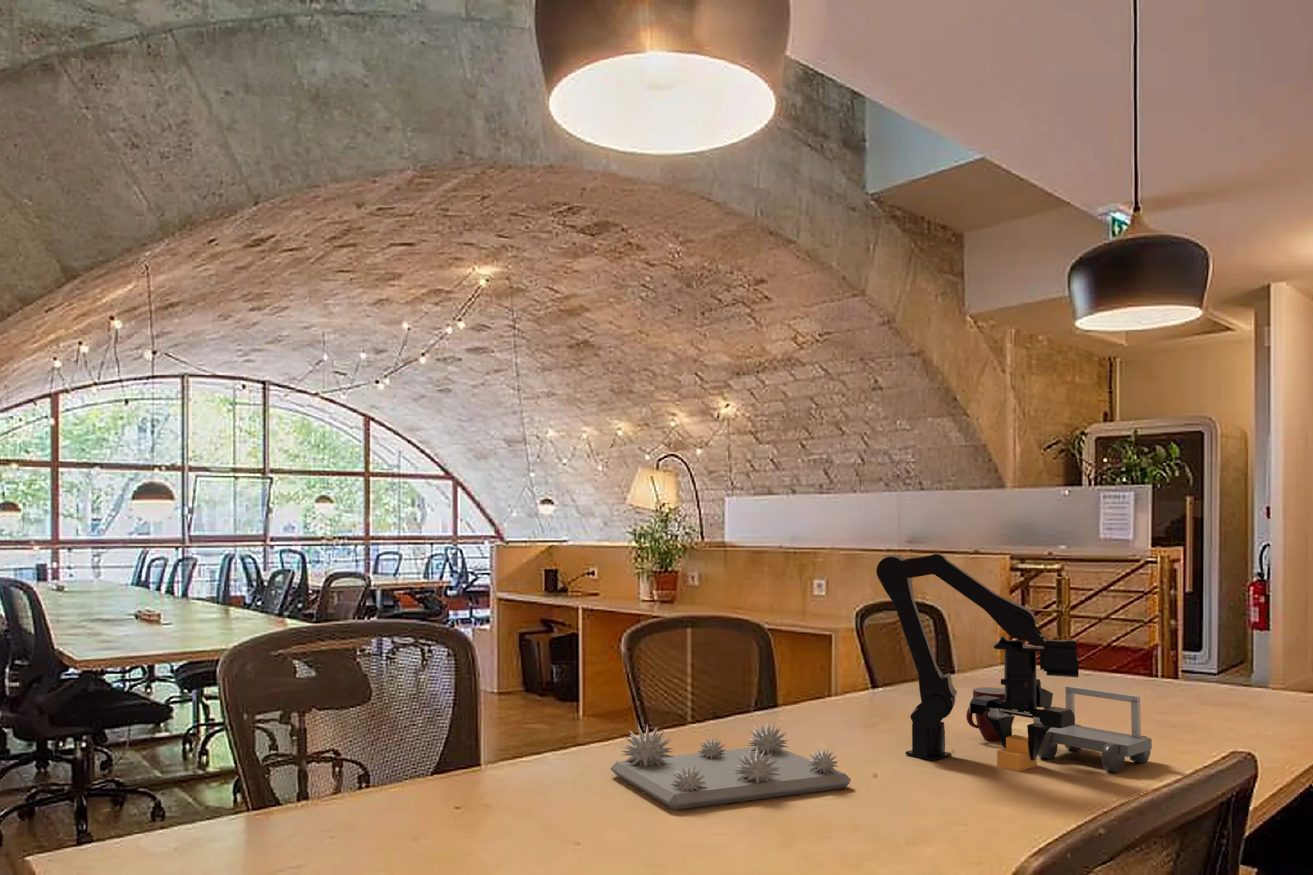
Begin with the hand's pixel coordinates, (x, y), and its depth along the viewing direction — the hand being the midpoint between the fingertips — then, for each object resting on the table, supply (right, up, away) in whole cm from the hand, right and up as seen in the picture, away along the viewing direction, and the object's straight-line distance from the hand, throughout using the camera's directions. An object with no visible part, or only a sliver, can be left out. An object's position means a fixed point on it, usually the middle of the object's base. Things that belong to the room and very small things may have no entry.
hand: (1021, 757), depth 193 cm
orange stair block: (-1, -1, -1) cm, 2 cm away
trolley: (+15, -2, +4) cm, 16 cm away
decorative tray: (-56, 0, -15) cm, 58 cm away
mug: (+1, -3, +20) cm, 21 cm away
